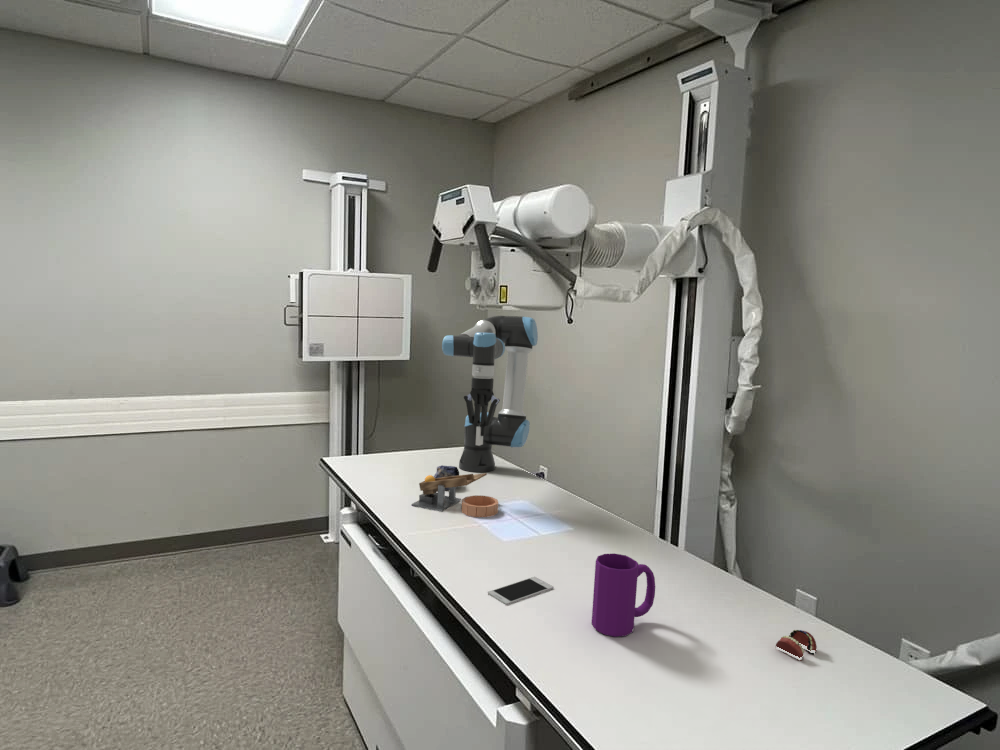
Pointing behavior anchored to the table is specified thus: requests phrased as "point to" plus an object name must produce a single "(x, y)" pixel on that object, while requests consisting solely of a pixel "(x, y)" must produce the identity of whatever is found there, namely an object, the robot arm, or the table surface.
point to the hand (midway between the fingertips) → (479, 444)
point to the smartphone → (520, 590)
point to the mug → (619, 594)
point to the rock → (446, 472)
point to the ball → (429, 478)
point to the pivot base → (438, 499)
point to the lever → (449, 482)
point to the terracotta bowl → (479, 506)
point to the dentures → (797, 642)
